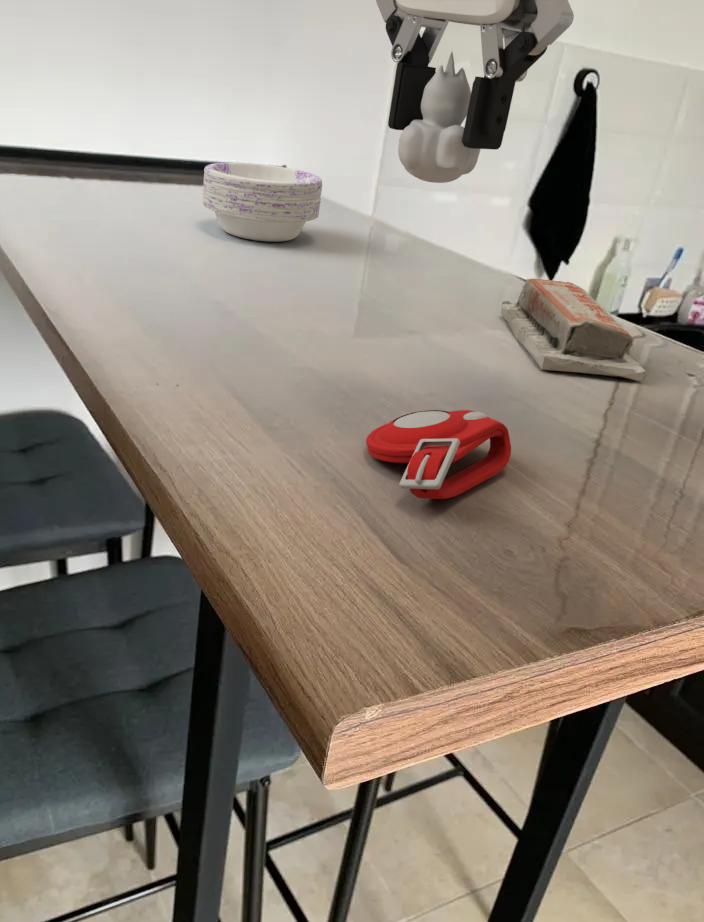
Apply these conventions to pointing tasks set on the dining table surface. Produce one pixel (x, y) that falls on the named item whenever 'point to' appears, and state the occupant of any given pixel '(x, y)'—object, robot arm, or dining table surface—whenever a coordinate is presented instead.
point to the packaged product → (570, 331)
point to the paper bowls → (261, 199)
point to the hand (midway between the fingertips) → (442, 135)
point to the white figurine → (439, 130)
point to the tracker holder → (441, 449)
